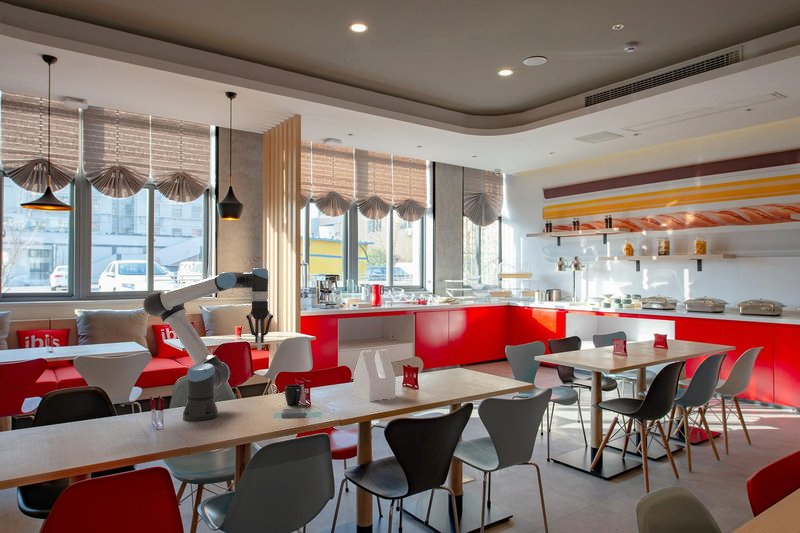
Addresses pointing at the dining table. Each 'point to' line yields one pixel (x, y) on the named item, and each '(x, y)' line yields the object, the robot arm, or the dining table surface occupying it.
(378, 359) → the white slotted block
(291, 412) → the tile
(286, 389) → the mug
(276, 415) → the mat
